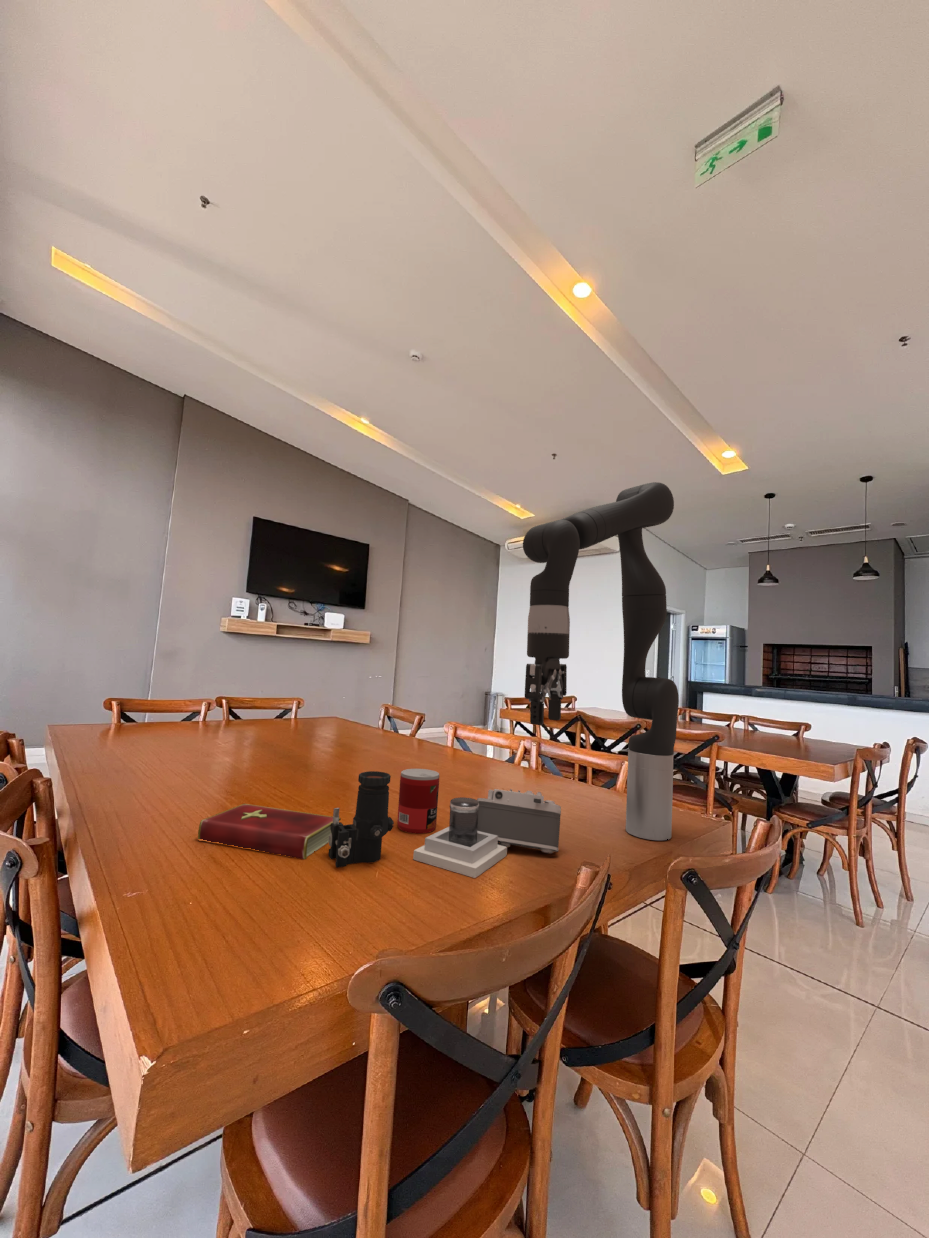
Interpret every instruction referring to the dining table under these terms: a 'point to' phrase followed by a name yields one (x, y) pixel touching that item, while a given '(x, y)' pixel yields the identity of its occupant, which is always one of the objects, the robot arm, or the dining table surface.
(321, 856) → the dining table surface
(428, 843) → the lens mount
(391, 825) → the scope
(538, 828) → the camera
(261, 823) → the hardcover book
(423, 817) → the canned food
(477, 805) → the lens
